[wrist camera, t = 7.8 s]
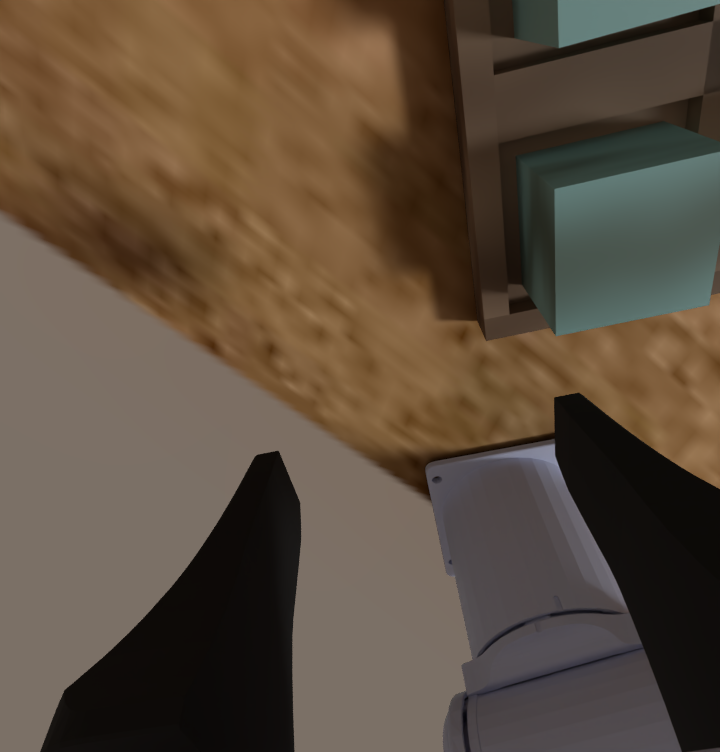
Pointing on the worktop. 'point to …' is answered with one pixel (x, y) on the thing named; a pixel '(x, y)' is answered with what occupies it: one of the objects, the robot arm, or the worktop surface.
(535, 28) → the teal block
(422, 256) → the worktop surface
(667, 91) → the puzzle tray
